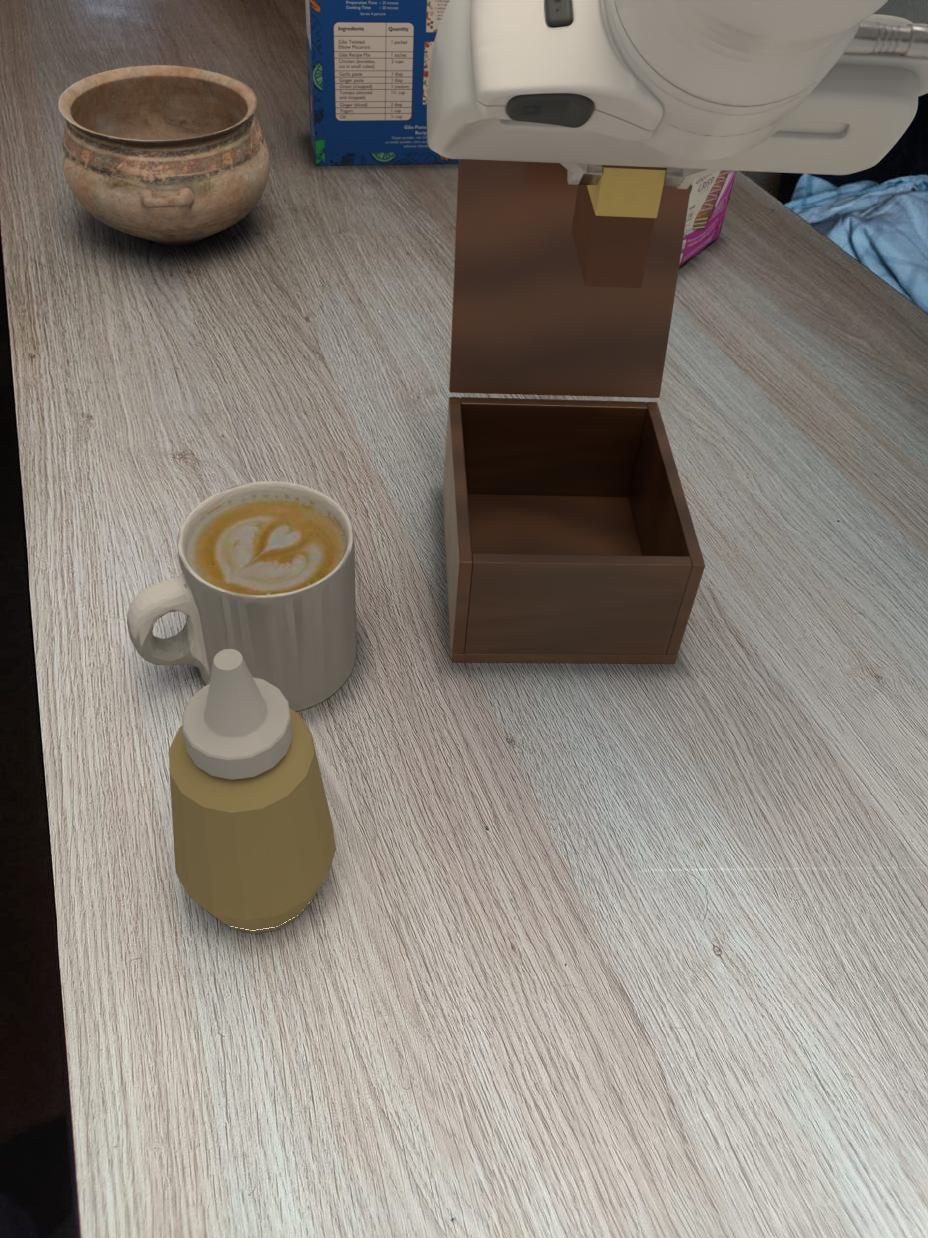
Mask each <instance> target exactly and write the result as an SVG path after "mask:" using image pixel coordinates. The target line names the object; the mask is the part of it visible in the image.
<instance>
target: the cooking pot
mask: <svg viewBox="0 0 928 1238" xmlns="http://www.w3.org/2000/svg"><path fill="white" fill-rule="evenodd" d="M57 105H58V111H59V112H60V114H61V116H62V117H63V118H64V119H65V122H64V126H63V132H62V138H61V152H60V155H61V156H60V157H61V165H62V172H63V177H64V179H65V181H66V183H67V185H68V187H69V189H70V190H71V192H72V194H73V195H74V197H75V199H76V200H77V202H78V203H79V204H80V205H81V206H82V207H83V208H84V209H85V210H86V211H87V212H88V213H89V214H90V215H91V216H92V217H94V218H95V219H96V220H98V221H100V222H102V223H103V224H105V225H106V226H108V227H110V228H112V229H114V230H116V231H119V232H121V233H124V234H127V235H130V236H132V237H134V238H135V237H136V238H138V239H143V240H147V241H149V242H152V243H155V244H157V245H158V244H159V245H162V246H170V247H173V246H175V247H177V246H188V245H192V244H196V243H200V242H202V241H203V240H205V239H207V238H209V237H211V236H213V235H216V234H218V233H220V232H222V231H224V230H226V229H228V228H230V227H232V226H234V225H235V224H237V223H238V222H240V221H242V219H244V218H245V217H246V216H248V215H249V214H250V213H251V212H252V210H253V209H254V208H255V207H256V206H257V204H258V203H259V202H260V200H261V198H262V196H263V193H264V191H265V188H266V186H267V184H268V180H269V177H270V152H269V148H268V145H267V142H266V139H265V136H264V133H263V131H262V129H261V126H260V123H259V122H258V119H257V118H256V115H255V112H256V111H257V108H258V97H257V96H256V93H255V92H254V91H253V89H251V87H250V86H249V85H248V84H246V83H244V82H243V81H242V80H239V79H237V78H235V77H233V76H231V75H228V74H225V73H221V72H219V71H214V70H210V69H205V68H201V67H200V68H199V67H192V66H187V65H186V66H184V65H172V64H171V65H169V64H168V65H167V64H151V65H137V66H126V67H120V68H115V69H109V70H105V71H102V72H97V73H95V74H92V75H89V76H87V77H84V78H82V79H79V80H78V81H76V82H74V83H72V84H71V85H70V86H68V87H67V88H66V89H65V90H64V91H63V92H62V93H61V94H60V96H59V98H58V101H57Z"/></svg>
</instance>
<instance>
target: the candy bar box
mask: <svg viewBox="0 0 928 1238" xmlns="http://www.w3.org/2000/svg"><path fill="white" fill-rule="evenodd" d="M736 174H737V171H733V170H722V171H719V172H716V173H713V174H710V175H707V176H704V177H700V178H695V179H694V181H693V182H692V184H691V190H690V197H689V204H688V210H687V217H686V224H685V231H684V237H683V244H682V251H681V257H680V264H679V268H681V267H682V266H684V265H685V264H686V263H687V262H688V261H690V260H691V259H692V258H694V257H695V256H696V255H697V254H699V253H700V252H702V251H703V250H704V249H705V248H706V247H708V246H709V245H710V244H712V243H713V242H715V240H717V239H718V238H720V235H721V232H722V228H723V224H724V221H725V217H726V213H727V210H728V209H727V208H728V207H729V206H728V205H729V202H730V197H731V193H732V189H733V186H734V182H735V179H736Z"/></svg>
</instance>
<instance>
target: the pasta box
mask: <svg viewBox="0 0 928 1238" xmlns="http://www.w3.org/2000/svg"><path fill="white" fill-rule="evenodd" d="M449 1H450V0H304V13H305V14H304V15H305V16H304V17H305V37H306V40H305V41H306V62H307V63H306V65H307V66H306V67H307V88H308V89H307V90H308V91H307V92H308V109H309V111H308V112H309V113H308V115H309V137H310V141H311V147H312V151H313V156H314V162H315V165H316V166H317V167H320V166H321V167H322V166H323V167H324V166H379V165H381V166H383V165H384V166H386V165H387V166H388V165H389V166H390V165H391V166H392V165H445V164H446V165H449V164H450V165H451V164H455V165H457V164H458V163H459V159H450V158H446V157H444V156H441V155H439V154H438V153H436V152H434V151H433V150H431V149H430V148H429V146H428V142H427V90H428V73H429V63H430V58H431V52H432V48H433V44H434V40H435V37H436V34H437V30H438V27H439V24H440V22H441V19H442V16H443V14H444V11H445V9H446V7H447V5H448V3H449Z"/></svg>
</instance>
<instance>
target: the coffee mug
mask: <svg viewBox="0 0 928 1238" xmlns="http://www.w3.org/2000/svg"><path fill="white" fill-rule="evenodd" d="M176 542H177V544H176V547H177V556H178V561H179V565H180V569H181V574H180V575H177V576H176V577H172V578H168V579H166V580H162V581H158V582H156V583H153V584H151V585H149V586H147V587H145V588H143V589H142V590H141V591H139V592H138V593H137V594H135V596H134V598H132V600H131V602H130V603H129V606H128V608H127V609H128V610H127V614H126V624H127V631H128V634H129V638H130V641H131V643H132V645H133V647H134V649H135V651H136V652H137V653H138V655H139V656H140V657H141V658H142V659H143V660H144V661H146V662H148V663H150V664H152V665H154V666H161V667H162V666H163V667H173V666H175V667H176V666H185V665H187V666H194V667H196V668H197V669H198V671H199V674H200V676H201V678H202V682H204V684H205V686H206V685H208V684H210V683H209V682H210V679H211V672H212V666H213V660H214V657H215V655H216V654H217V653H218V652H220V651H222V650H224V649H234V650H237V651H238V652H240V653H241V655H242V656H243V658H244V660H245V663H246V665H247V667H248V669H249V671H250V673H251V675H252V677H253V678H258V679H263V680H265V681H267V682H268V683H270V684H272V685H274V686H275V687H277V688H279V689H280V691H281V692H282V694H283V695H284V696H285V698H286V699H287V701H288V702H289V708H290V709H291V710H293V711H295V712H296V713H297V712H300V711H304V710H307V709H309V708H312V707H314V706H316V705H319V704H321V703H322V702H325V701H326V700H327V699H329V698H331V697H332V696H333V695H334V694H336V693H337V692H338V691H339V690H340V689H341V688H342V687H343V686H344V685H345V683H346V682H347V680H348V679H349V677H350V676H351V674H352V672H353V670H354V668H355V664H356V661H357V660H356V658H357V613H356V612H357V608H356V606H357V605H356V553H355V551H356V550H355V548H356V547H355V544H356V543H355V533H354V529H353V524H352V521H351V520H350V518H349V515H348V514H347V513H346V510H345V509H344V508H343V507H342V506H341V505H340V504H339V503H338V502H337V501H335V500H334V499H332V497H330V496H329V495H326V494H325V493H323V492H322V491H319V490H317V489H314V488H312V487H309V486H306V485H303V484H299V483H294V482H288V481H280V480H279V481H277V480H274V481H273V480H272V481H271V480H264V481H252V482H247V483H242V484H238V485H233V486H231V487H228V488H226V489H223V490H220V491H218V492H215V493H214V494H212V495H211V496H208V497H207V498H205V499H204V500H202V501H201V502H200V503H198V504H197V505H196V506H194V508H193V509H192V510H191V511H190V512H189V513H188V515H187V516H186V517H185V518H184V520H183V522H182V524H181V526H180V527H179V531H178V534H177V541H176ZM176 612H179V613H182V614H184V615H186V617H185V618H186V619H185V620H186V621H185V623H184V625H183V628H182V629H181V630H180V631H179V632H177V633H176V634H175V635H172V636H169V637H166V638H163V637H161V638H160V637H158V636H155V635H154V632H153V631H154V627H155V624H156V623H157V621H158V620H159V619H161V618H162V617H164V616H166V615H167V614H168V613H176ZM208 681H209V682H208Z"/></svg>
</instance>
